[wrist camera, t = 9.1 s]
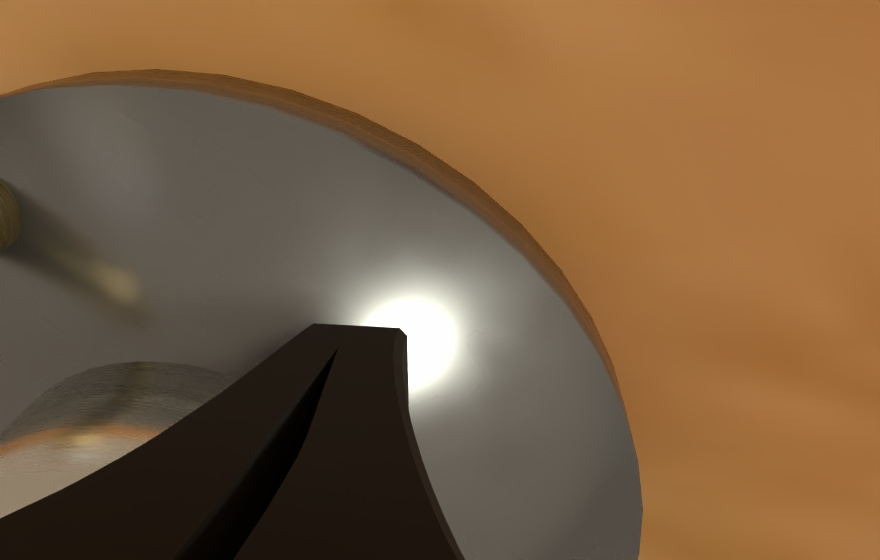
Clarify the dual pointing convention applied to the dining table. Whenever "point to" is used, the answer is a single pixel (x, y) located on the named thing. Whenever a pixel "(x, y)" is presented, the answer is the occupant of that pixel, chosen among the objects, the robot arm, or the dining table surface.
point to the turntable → (311, 286)
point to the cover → (95, 423)
